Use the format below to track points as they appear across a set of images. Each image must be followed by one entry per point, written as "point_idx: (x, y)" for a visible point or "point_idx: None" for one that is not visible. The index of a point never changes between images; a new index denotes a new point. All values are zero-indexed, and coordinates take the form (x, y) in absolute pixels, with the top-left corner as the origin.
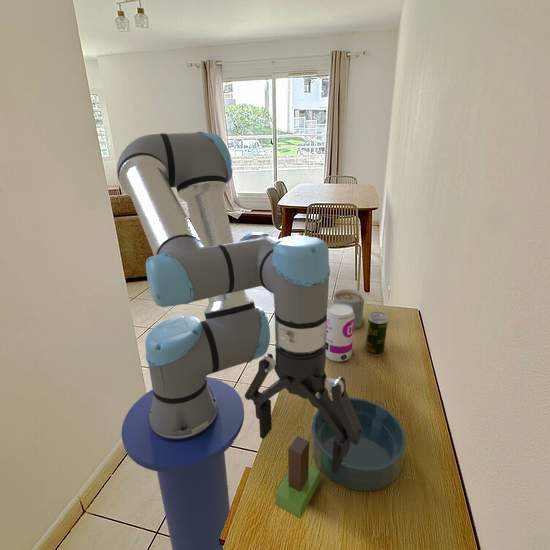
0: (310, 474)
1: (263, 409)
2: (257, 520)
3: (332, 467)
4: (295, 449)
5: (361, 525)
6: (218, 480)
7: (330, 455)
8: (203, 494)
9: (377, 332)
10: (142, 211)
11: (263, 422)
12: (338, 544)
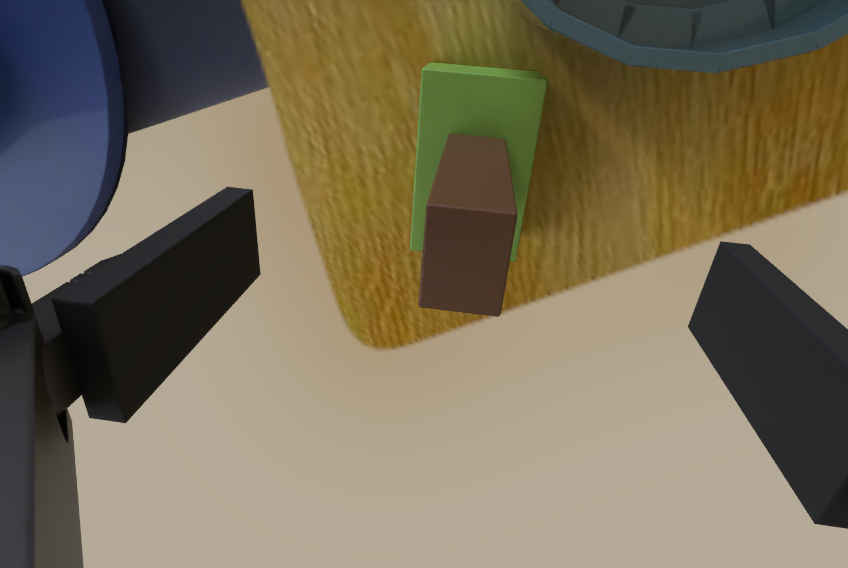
0: (509, 118)
1: (126, 406)
2: (390, 287)
3: (701, 346)
4: (458, 298)
5: (725, 173)
6: (178, 31)
7: (605, 39)
8: (178, 89)
9: None
10: None
11: (199, 335)
12: (648, 259)
